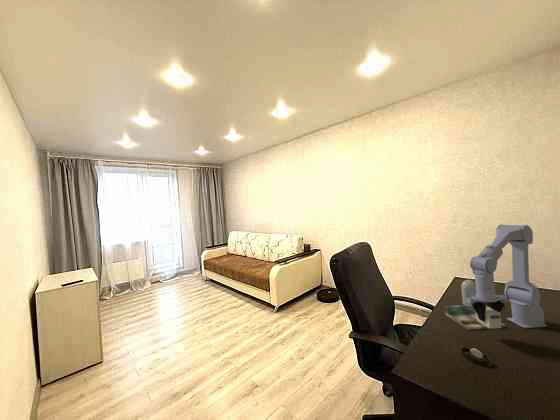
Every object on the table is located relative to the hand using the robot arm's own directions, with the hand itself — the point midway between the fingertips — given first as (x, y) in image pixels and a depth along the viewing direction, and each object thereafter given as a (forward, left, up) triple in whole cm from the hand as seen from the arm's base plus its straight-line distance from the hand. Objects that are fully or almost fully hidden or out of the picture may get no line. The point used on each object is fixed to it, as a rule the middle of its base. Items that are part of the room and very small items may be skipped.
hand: (488, 319), depth 90 cm
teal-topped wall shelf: (-5, -14, -8) cm, 17 cm away
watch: (+15, +11, -8) cm, 20 cm away
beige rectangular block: (0, 0, -2) cm, 2 cm away
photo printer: (-17, -31, -8) cm, 36 cm away
